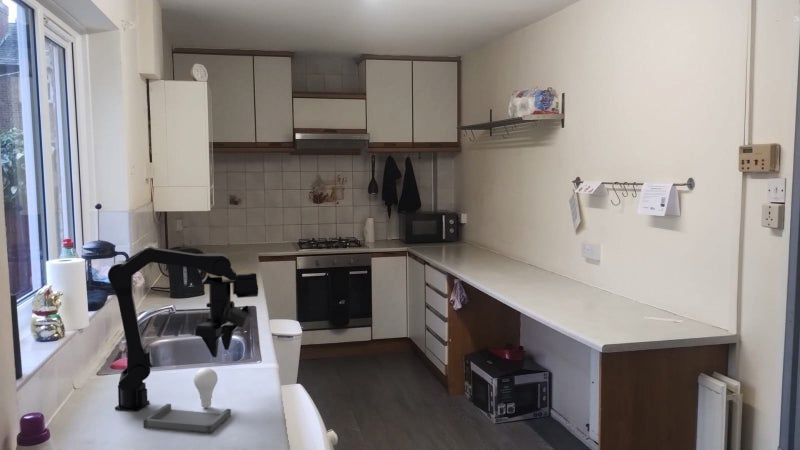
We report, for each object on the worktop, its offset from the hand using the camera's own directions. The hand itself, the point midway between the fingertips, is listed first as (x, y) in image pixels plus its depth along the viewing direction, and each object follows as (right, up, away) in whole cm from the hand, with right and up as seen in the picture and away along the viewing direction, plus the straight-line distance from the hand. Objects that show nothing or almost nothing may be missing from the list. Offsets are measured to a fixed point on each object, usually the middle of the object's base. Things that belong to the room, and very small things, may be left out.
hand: (220, 353), depth 175 cm
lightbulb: (-2, -13, -7) cm, 15 cm away
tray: (-3, -14, -17) cm, 22 cm away
